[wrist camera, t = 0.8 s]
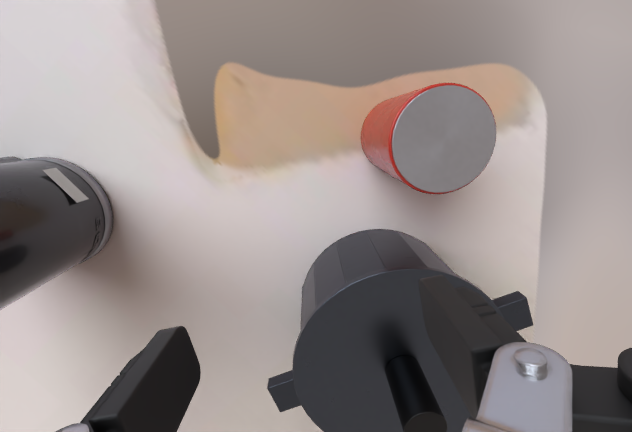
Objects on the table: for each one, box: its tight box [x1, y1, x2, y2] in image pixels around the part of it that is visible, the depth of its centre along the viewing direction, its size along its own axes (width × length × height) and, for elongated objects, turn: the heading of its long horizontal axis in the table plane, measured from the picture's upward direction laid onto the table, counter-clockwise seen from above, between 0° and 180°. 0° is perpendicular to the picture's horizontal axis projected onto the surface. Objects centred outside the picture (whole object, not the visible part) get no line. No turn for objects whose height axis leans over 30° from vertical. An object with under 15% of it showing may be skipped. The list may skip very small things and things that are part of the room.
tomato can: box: [361, 83, 496, 194], centre depth 22 cm, size 6×6×10 cm
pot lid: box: [293, 266, 504, 432], centre depth 20 cm, size 15×15×6 cm
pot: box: [268, 229, 533, 412], centre depth 27 cm, size 14×19×9 cm
